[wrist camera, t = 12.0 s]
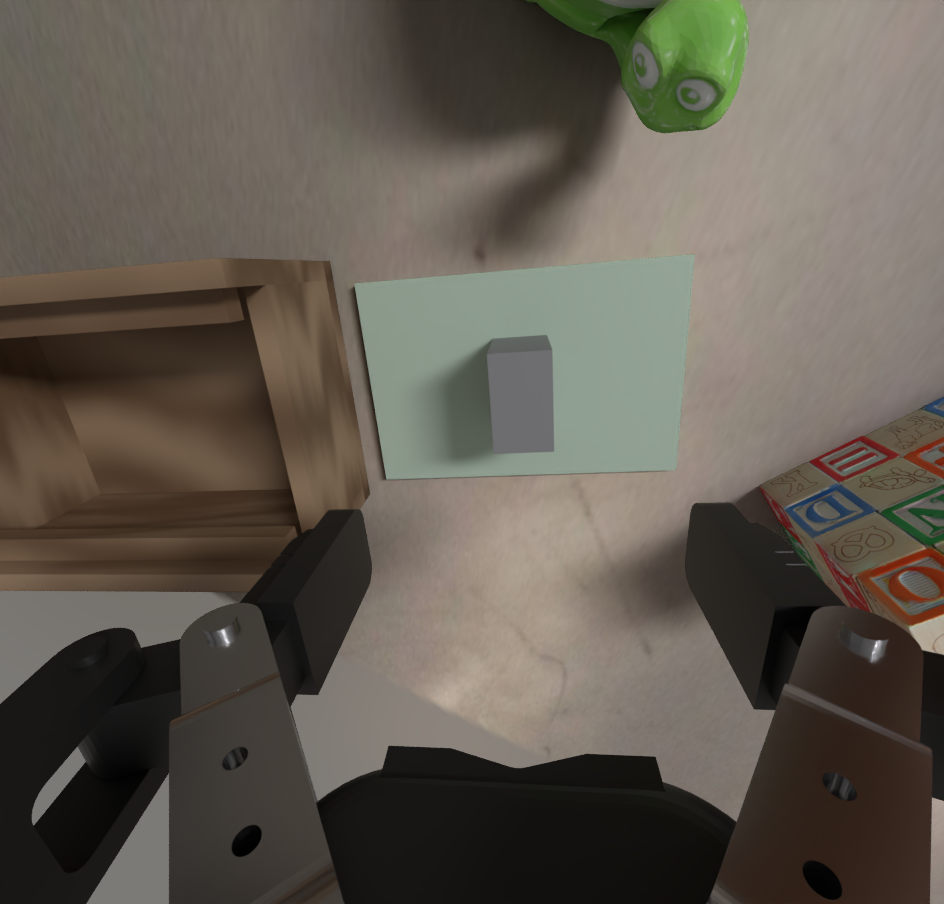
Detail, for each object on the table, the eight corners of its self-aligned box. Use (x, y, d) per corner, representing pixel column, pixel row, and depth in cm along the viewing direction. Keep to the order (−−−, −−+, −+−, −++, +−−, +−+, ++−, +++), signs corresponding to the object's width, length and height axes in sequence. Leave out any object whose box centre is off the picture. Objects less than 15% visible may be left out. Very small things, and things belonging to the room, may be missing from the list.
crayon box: (18, 287, 28) (-232, 298, 19) (329, 261, 26) (219, 258, 17) (105, 499, 34) (-58, 590, 24) (369, 494, 31) (304, 592, 22)
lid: (361, 283, 27) (317, 287, 21) (686, 254, 25) (737, 251, 19) (391, 472, 31) (361, 518, 25) (670, 462, 29) (706, 510, 23)
